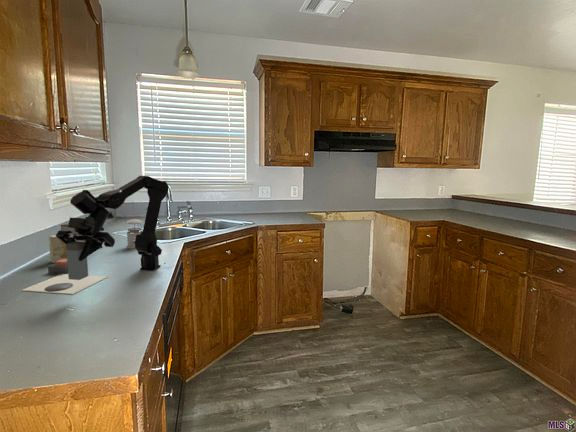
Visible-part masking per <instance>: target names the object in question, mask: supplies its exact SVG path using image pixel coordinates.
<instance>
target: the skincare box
mask: <svg viewBox="0 0 576 432" xmlns="http://www.w3.org/2000/svg"><path fill="white" fill-rule="evenodd" d="M48 240H49V241H48V242H49V256H50V257H49V259H50V263H52V264H55V262H56V261H59V260H61V259H67V253H66V244H64V243H63V242H62V241H61V240H60V239H58V238H57V237H56V234H55V235H54V234H53V235H48Z"/></svg>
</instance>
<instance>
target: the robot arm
mask: <svg viewBox="0 0 576 432" xmlns="http://www.w3.org/2000/svg"><path fill="white" fill-rule="evenodd" d="M142 189H147V190H146V192H147V196H148V198H149V200H148V204H147V210H146V215H145V220H144V222H143V223H144V224H143V225H144V226H143V227H142V230H141V231H142V233H141V234H140V235H139V234H137V235H136V240H134V241H135V243H134V244H135V248H134V249H136V251H137V254H138V255H141V257H140V268H139V270H143V271H155V270H156V269H159V268H160V267H161V264H160V262H159V256H161V255H162V252H163V249H162V248H161V247H160V246H158V238H157V235H156V230H157V224H158V219H159V215H160V212H161V211H160V210H161V205H162V201H163V200H164V199H165V198H166V197H167V194H168V193H169V184H168V183H167V181H165V180H159V179H156V178H153V177H150V176H149V175H138V176H137V177H136V178H135V179H133V180H131V181H129V182H128V183H126V184H124V185H122V186H121V187H118V188H117V189H114V190H108V191H106V192H102V193H100V194H99V195H98V196H96V197H95V196H94V195H93V194H92V193H91V192H90V191H89V190H88V189H83V190H82V191H81V192H78V193H77V194H75V195H73V196H72V197H71V199H70V201H69V202H70V204H71V205H72V206H73V207H74V208H76V209H77V210H78V211H79V212H81V213H82V214H84V215H87V214H88V216H85V218H83V217H69V219H68V223H67V224H68V227H71V228H74V229H75V232H77V233H78V235H76V234H74V233H72V232H71V231H70V230H61V229H60V230H58V231H57V233H56V234H55V235H56V237H57V238H58V239H60V240H61V241H62V242H63V243H64V244H68V243H72V242H79V241H86V245H85V247H84V249H83V251H82V253H81V255H80V257H79V260H80V261H82V260H83V259H85V258H86V257H87V258H88V257H89V256H91V255H92V254H94V253H96V252H97V251H99V250H101V249H103V245H104V247H106V248H113V247H114V246H115V243H116V240H115V238H114V237H113V236H112V235H111V234H110V232H108V231H107V232H105V227H104V225H105V223H106V221H107V220H109V219H111V220H112V219H114V214H113V212H112V211H109V209H110V210H116V209H119V208H120V207H121V206H122V205H124V203H125V201H126V200H127V199H128V198H130V196H133V195H134V194H135V193H137V192H139V191H140V190H142Z"/></svg>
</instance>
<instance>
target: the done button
mask: <svg viewBox="0 0 576 432" xmlns="http://www.w3.org/2000/svg"><path fill="white" fill-rule="evenodd" d="M55 263H56V265H58V266H66V265H67V259H61V260H59V261H56V262H55ZM55 263H54V264H55Z"/></svg>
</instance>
